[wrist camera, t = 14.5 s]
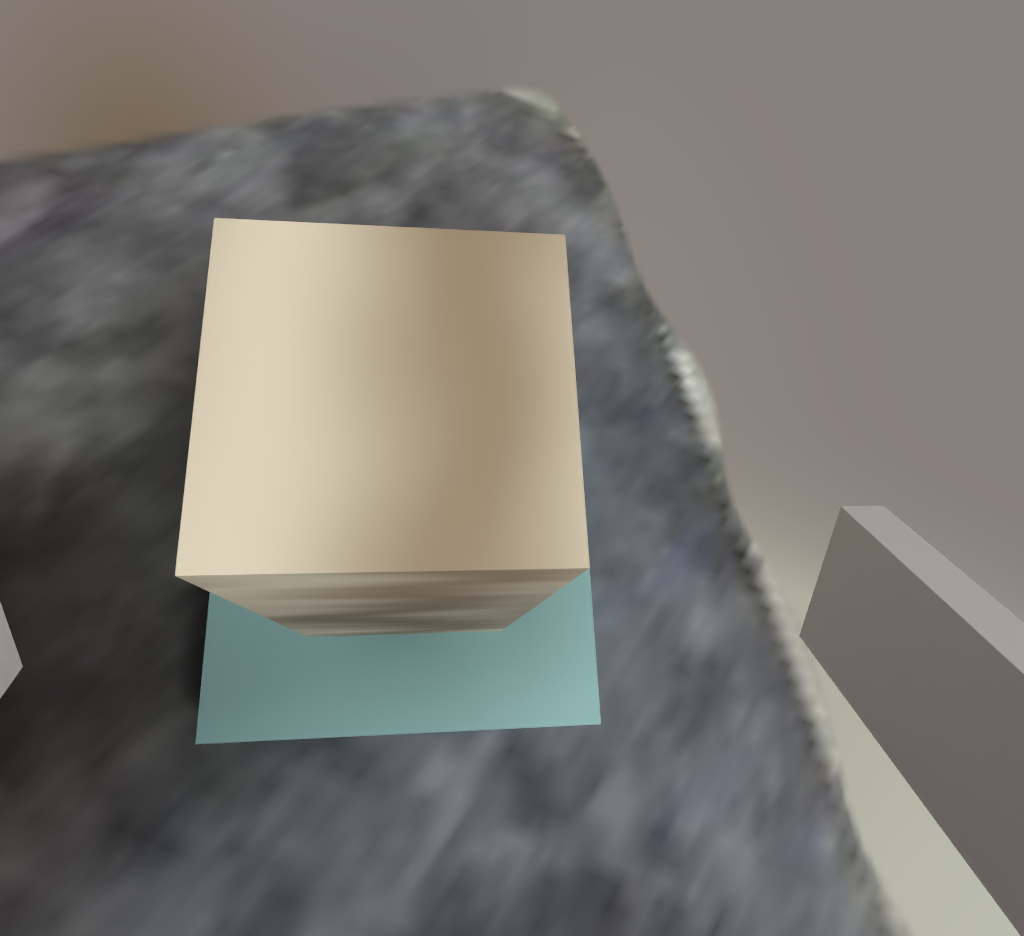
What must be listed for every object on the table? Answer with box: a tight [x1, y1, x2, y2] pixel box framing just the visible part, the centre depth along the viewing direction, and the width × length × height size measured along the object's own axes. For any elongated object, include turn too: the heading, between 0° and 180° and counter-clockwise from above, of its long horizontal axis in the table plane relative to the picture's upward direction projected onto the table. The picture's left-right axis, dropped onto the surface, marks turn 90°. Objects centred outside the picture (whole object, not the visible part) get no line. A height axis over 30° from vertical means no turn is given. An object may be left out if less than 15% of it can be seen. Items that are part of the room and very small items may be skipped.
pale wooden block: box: [175, 218, 590, 637], centre depth 17 cm, size 6×6×12 cm
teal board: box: [196, 569, 601, 744], centre depth 24 cm, size 12×12×3 cm
